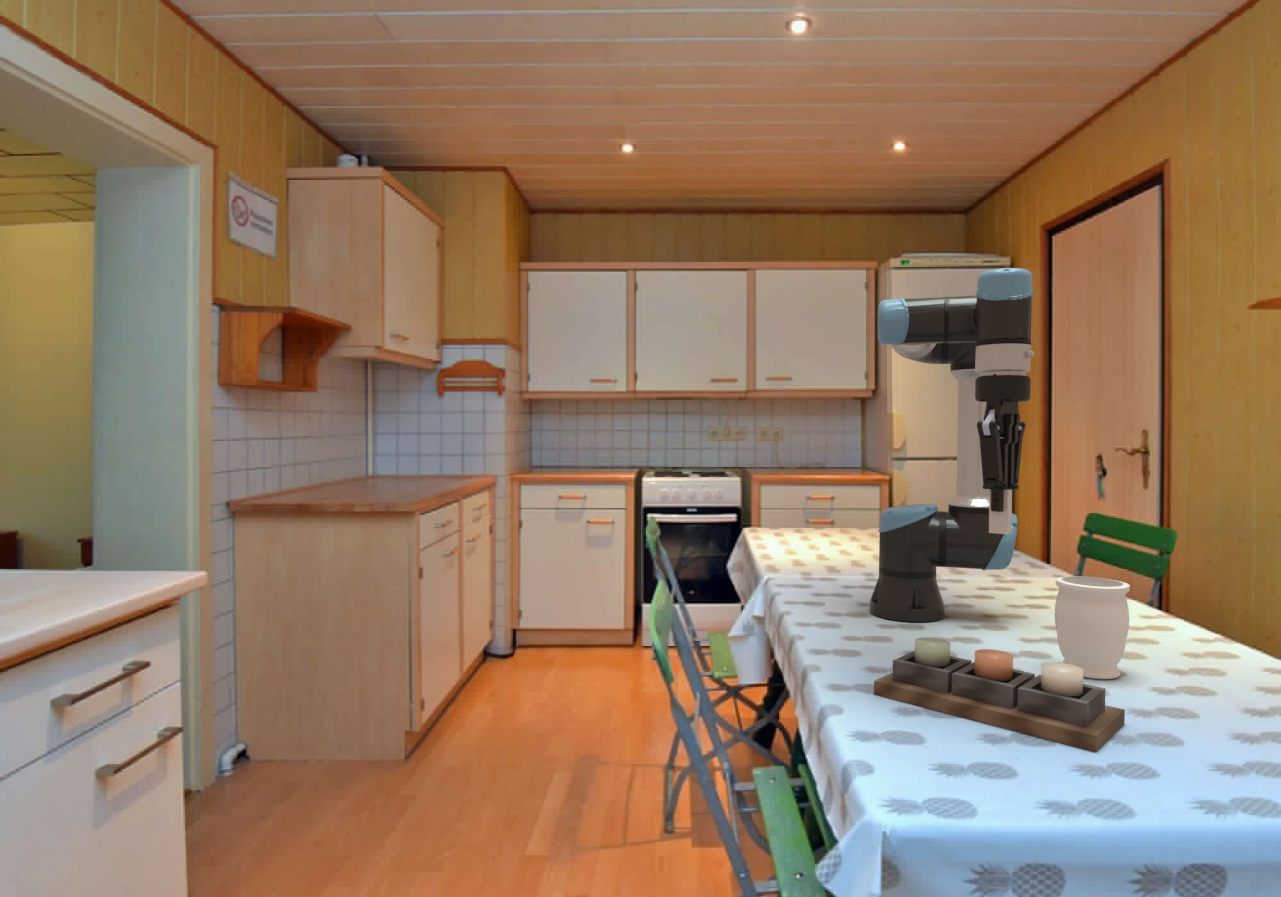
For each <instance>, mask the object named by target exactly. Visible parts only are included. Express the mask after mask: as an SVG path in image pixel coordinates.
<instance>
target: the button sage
mask: <svg viewBox="0 0 1281 897" xmlns="http://www.w3.org/2000/svg"><path fill="white" fill-rule="evenodd" d="M914 651H915V662H917V663H919V664H922V665H927V666H932V667H944V666H948V665H950V656H951V642H950V641H948V640H945V639H942V638H936V637H919V638H915V640H914Z"/></svg>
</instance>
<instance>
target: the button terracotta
mask: <svg viewBox="0 0 1281 897" xmlns="http://www.w3.org/2000/svg"><path fill="white" fill-rule="evenodd" d="M974 662H975V665H974V674H975V675H976V676H978V677H981V678H985V679H990V680H996V681H1006V680H1011V679H1012V678H1013V669H1014V655H1013V654H1011V653H1010V652H1006V651H1004V650H1003V651H1002V650H999V649H990V648H989V649H986V648H984V649H983V648H982V649H976V650H975V651H974Z"/></svg>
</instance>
